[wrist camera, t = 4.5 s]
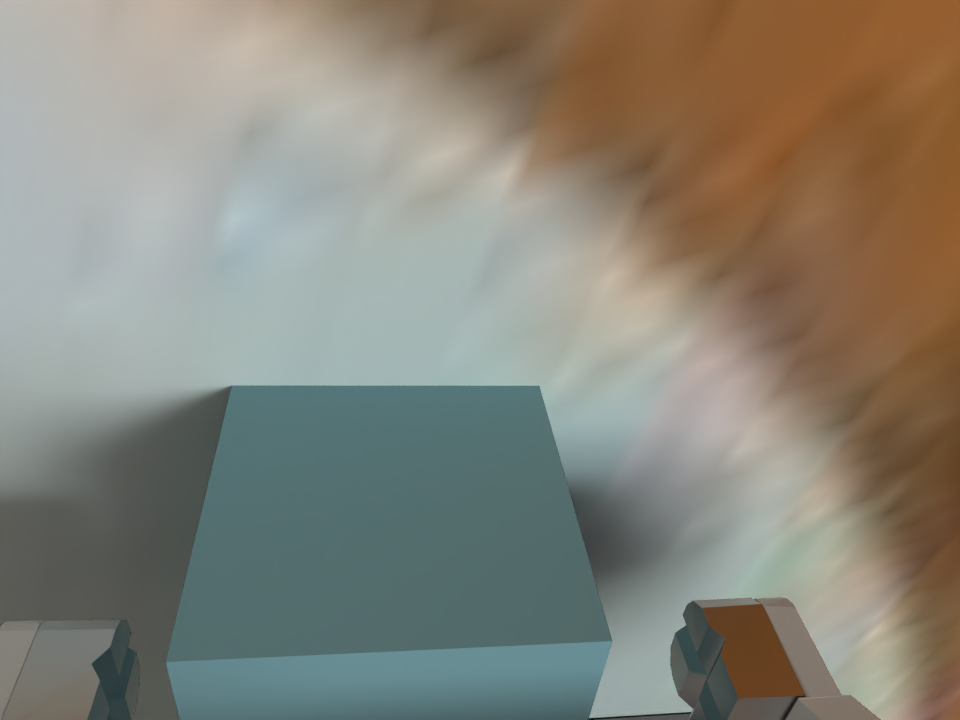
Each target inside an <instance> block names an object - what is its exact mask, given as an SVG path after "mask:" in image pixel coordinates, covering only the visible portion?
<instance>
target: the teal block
mask: <svg viewBox="0 0 960 720" xmlns="http://www.w3.org/2000/svg"><path fill="white" fill-rule="evenodd" d="M611 644H612V639H611V635H610V632H609V628H608V625H607V621H606V618H605V614H604V611H603V607H602V604H601V600H600V597H599V593H598V590H597V586H596V583H595V579H594V576H593V572H592V569H591V565H590V562H589V558H588V555H587V551H586V548H585V544H584V541H583V537H582V534H581V530H580V527H579V523H578V520H577V516H576V513H575V509H574V506H573V502H572V499H571V495H570V492H569V488H568V485H567V481H566V478H565V474H564V471H563V467H562V464H561V460H560V457H559V453H558V450H557V446H556V443H555V439H554V436H553V432H552V429H551V425H550V422H549V418H548V415H547V411H546V408H545V404H544V401H543V397H542V394H541V390H540V387H539V386H232V387H231V391H230V395H229V399H228V404H227V408H226V412H225V416H224V420H223V424H222V429H221V433H220V437H219V441H218V445H217V449H216V454H215V458H214V462H213V466H212V470H211V474H210V479H209V483H208V487H207V491H206V495H205V499H204V504H203V508H202V512H201V516H200V520H199V524H198V529H197V533H196V537H195V541H194V545H193V549H192V554H191V558H190V562H189V566H188V570H187V575H186V579H185V583H184V587H183V591H182V595H181V600H180V604H179V608H178V612H177V616H176V620H175V625H174V629H173V633H172V637H171V641H170V645H169V650H168V654H167V658H166V666H167V670H168V674H169V678H170V683H171V687H172V691H173V695H174V699H175V703H176V707H177V711H178V715H179V719H180V720H588V718H589V715H590V712H591V709H592V705H593V702H594V699H595V696H596V692H597V689H598V686H599V683H600V679H601V676H602V673H603V670H604V666H605V663H606V660H607V657H608V653H609V650H610V647H611Z"/></svg>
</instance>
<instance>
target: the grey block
mask: <svg viewBox="0 0 960 720" xmlns="http://www.w3.org/2000/svg"><path fill="white" fill-rule="evenodd" d="M690 715H691V714H677V715H661V716H645V717H628V718H612V719H596V720H689V718H690Z"/></svg>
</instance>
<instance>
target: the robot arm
mask: <svg viewBox="0 0 960 720" xmlns="http://www.w3.org/2000/svg"><path fill="white" fill-rule="evenodd" d="M683 617H684V620H685V623H686V626H684V627H683V628H682V629H680V630H679V631H677V632H676V633H675V636H674V639H673V641H672V644H671V657H670V665H671V670H672V676H673V680H674V683H675V686H676V690H677V693H678V695H679V696H680V697H681V698H682V699H683V700H684V701H685V702H686V703H687V704H688V705H690V706H691V707H692V708H693V709H692V712H691V715H690V718H689V720H880V719H879V718H878V717H877V716H876V715H874V714H873V713H872V712H871V711H869V710H868V709H867V708H866V707H864V706H863V705H862V704H861V703H860V702H858V701H857V700H856V699H855V698H853V697H852V696H851V695H841V694H840V692H839V690H838V688H837V686H836V684H835V682H834V680H833V678H832V677H831V675H830V673H829V671H828V669H827V667H826V665H825V663H824V661H823V659H822V658H821V656H820V654H819V652H818V650H817V648H816V646H815V644H814V642H813V641H812V639H811V637H810V635H809V633H808V631H807V629H806V627H805V625H804V623H803V622H802V620H801V618H800V616H799V614H798V612H797V610H796V608H795V606H794V605H793V603H791V602H790V601H789V600H788V599H787V598H781V597H779V598H760V599H752V598H736V599H716V600H695V601H692V602H690V603H689V604H687V606H686V609H685V611H684V613H683ZM130 636H131V631H130V628H129V625H128V622H127V619H108V620H49V621H48V620H35V621H5V622H4V623H3V624H2V626H1V627H0V720H133V717H134V712H135V708H136V704H137V699H138V690H139V681H140V674H139V662H138V658H137V654H136V652H134V651H132V650H131V649H129V648H128V643H129V640H130Z"/></svg>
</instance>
